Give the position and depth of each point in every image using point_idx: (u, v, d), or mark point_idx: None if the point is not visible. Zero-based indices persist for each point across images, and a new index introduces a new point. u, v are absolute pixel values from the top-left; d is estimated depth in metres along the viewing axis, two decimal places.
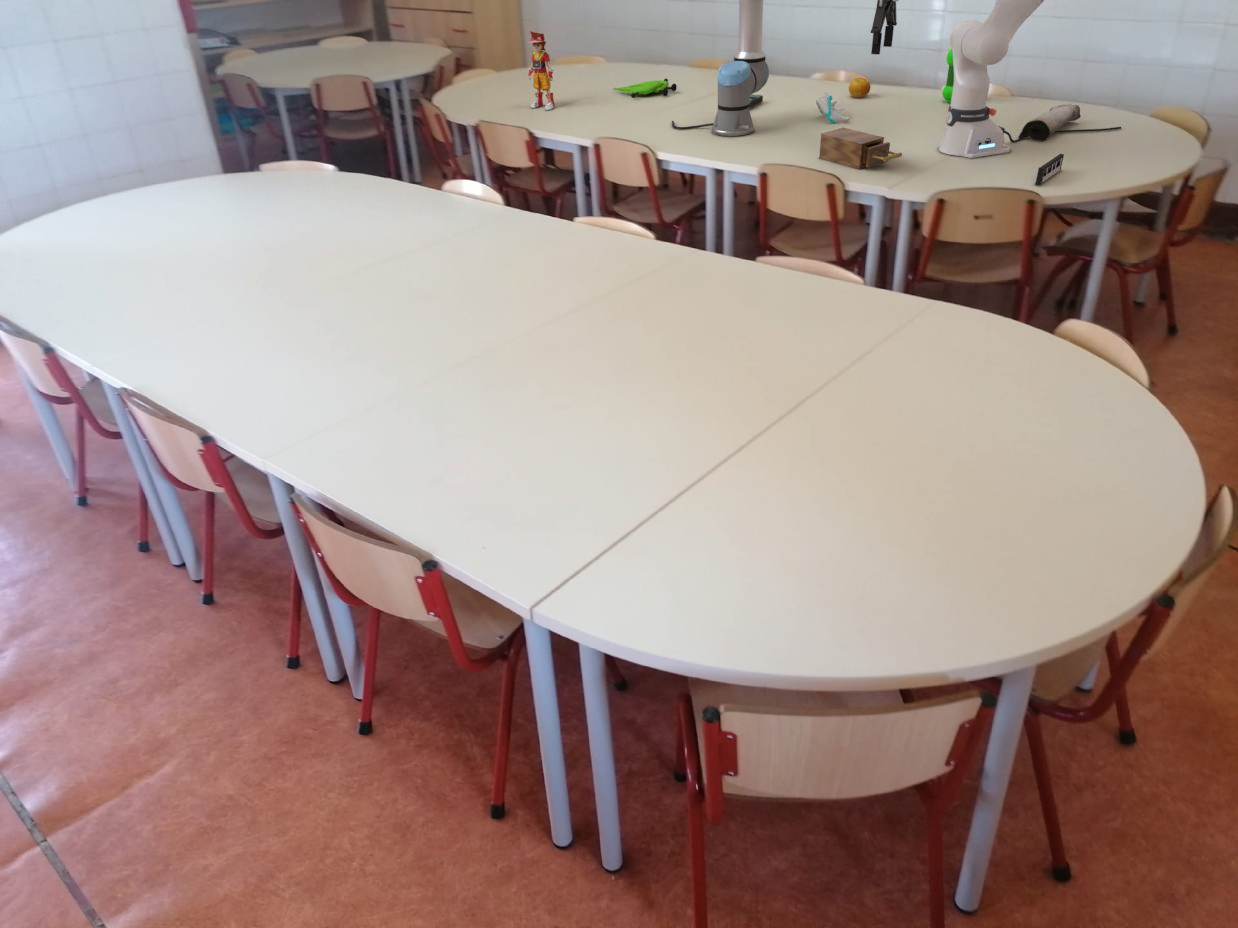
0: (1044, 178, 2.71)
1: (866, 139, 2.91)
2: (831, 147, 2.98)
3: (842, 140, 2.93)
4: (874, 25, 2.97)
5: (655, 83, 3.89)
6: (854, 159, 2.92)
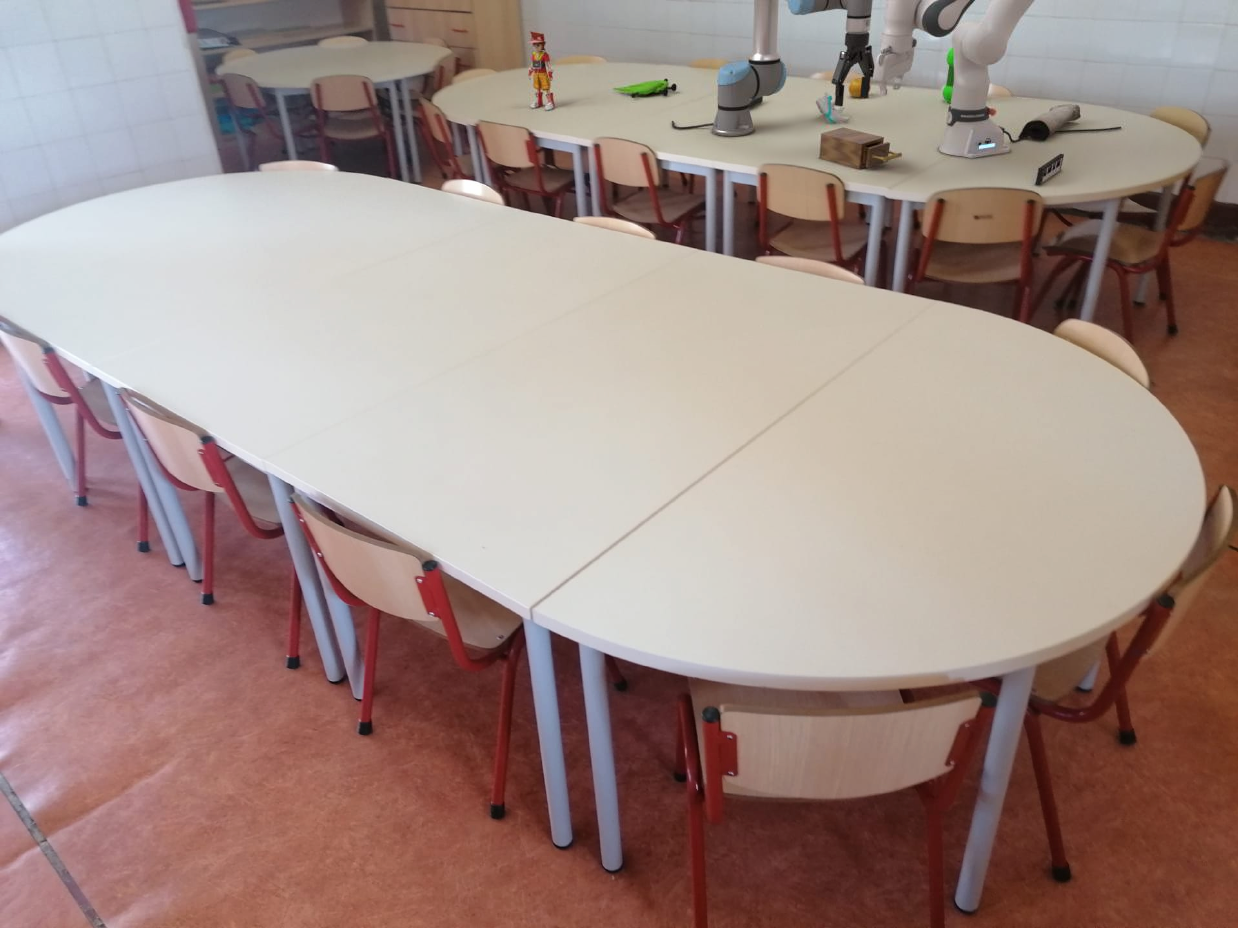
0: (1044, 178, 2.71)
1: (866, 139, 2.91)
2: (831, 147, 2.98)
3: (842, 140, 2.93)
4: (834, 77, 2.89)
5: (655, 83, 3.89)
6: (854, 159, 2.92)
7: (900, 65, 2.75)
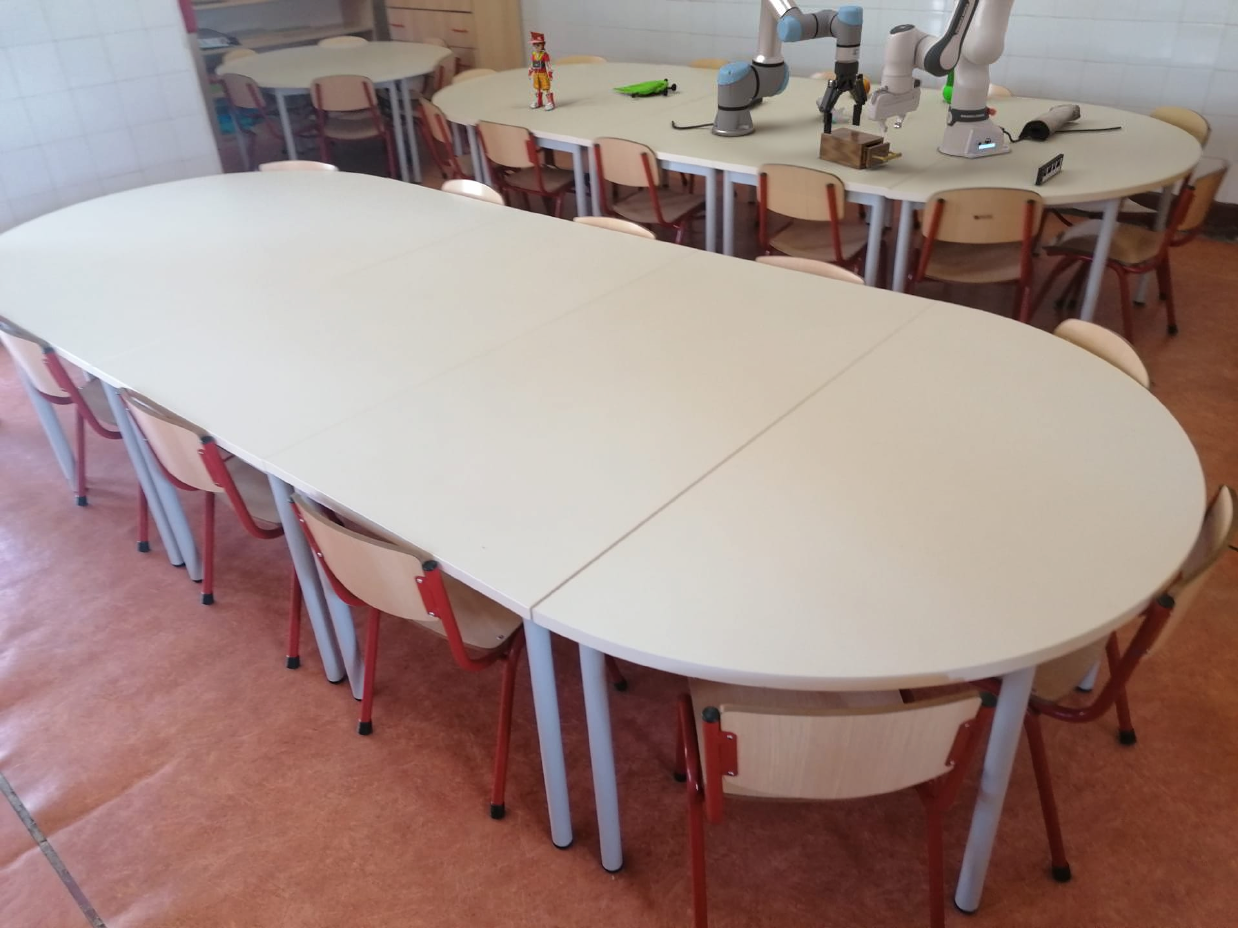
0: (1044, 178, 2.71)
1: (866, 139, 2.91)
2: (831, 147, 2.98)
3: (842, 140, 2.93)
4: (822, 104, 2.89)
5: (655, 83, 3.89)
6: (854, 159, 2.92)
7: (901, 104, 2.77)
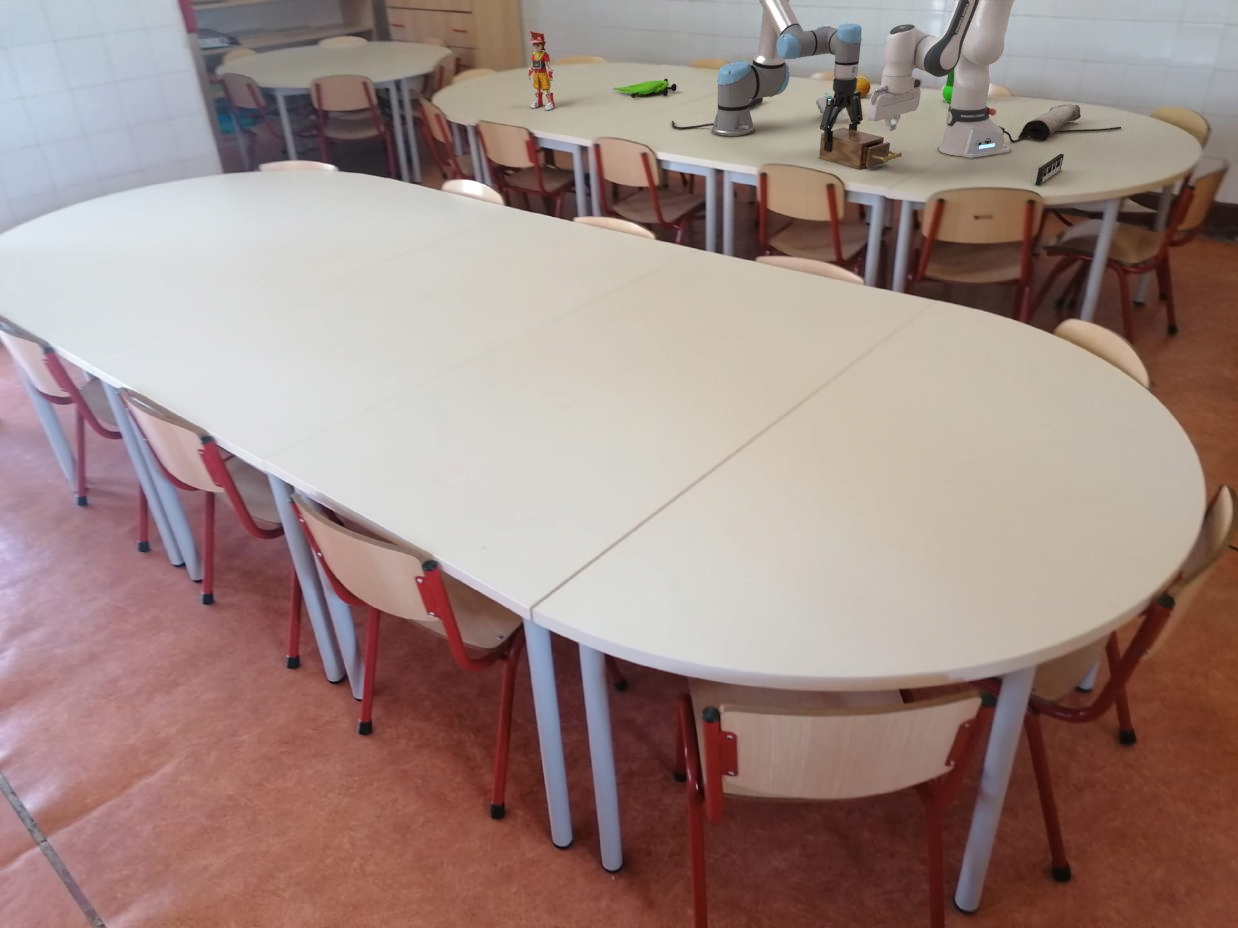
0: (1044, 178, 2.71)
1: (866, 139, 2.91)
2: None
3: (842, 140, 2.93)
4: (822, 123, 2.93)
5: (655, 83, 3.89)
6: (854, 159, 2.92)
7: (901, 104, 2.77)
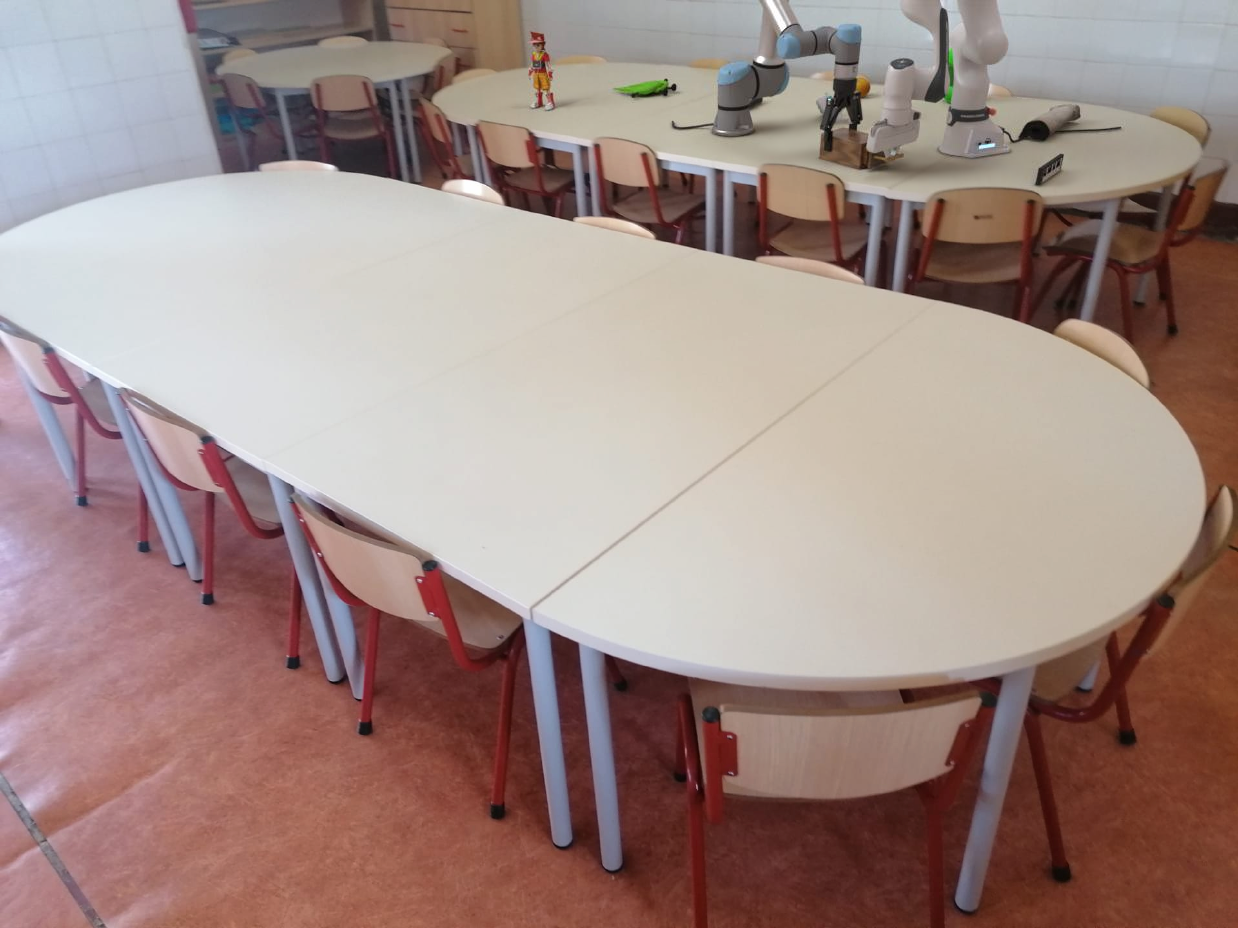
0: (1044, 178, 2.71)
1: (866, 139, 2.91)
2: None
3: (842, 140, 2.93)
4: (822, 123, 2.93)
5: (655, 83, 3.89)
6: (854, 159, 2.92)
7: (900, 136, 2.82)
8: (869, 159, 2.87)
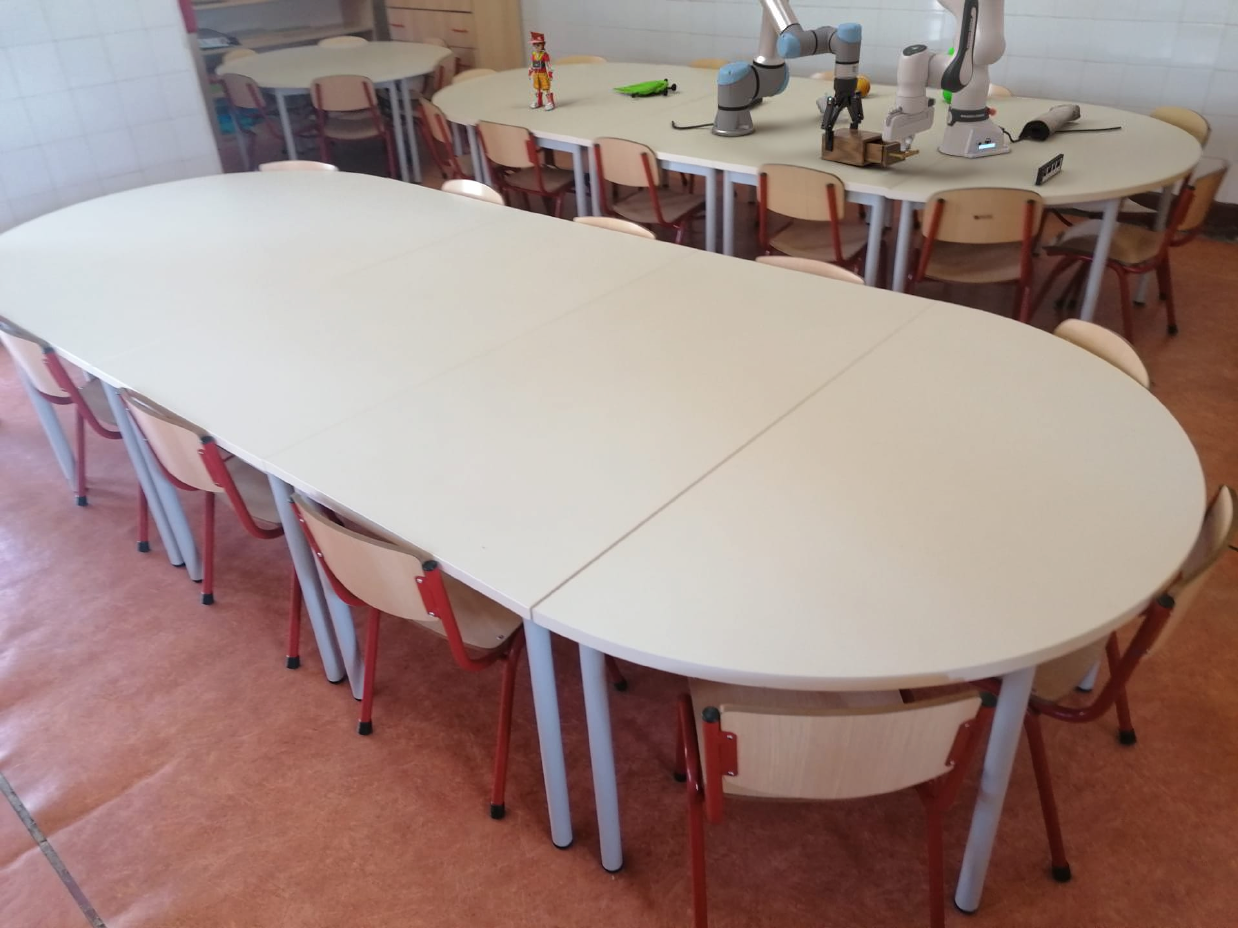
0: (1044, 178, 2.71)
1: (867, 136, 2.90)
2: (833, 146, 2.97)
3: (843, 138, 2.92)
4: (823, 123, 2.93)
5: (655, 83, 3.89)
6: (856, 156, 2.91)
7: (915, 123, 2.76)
8: (884, 157, 2.82)
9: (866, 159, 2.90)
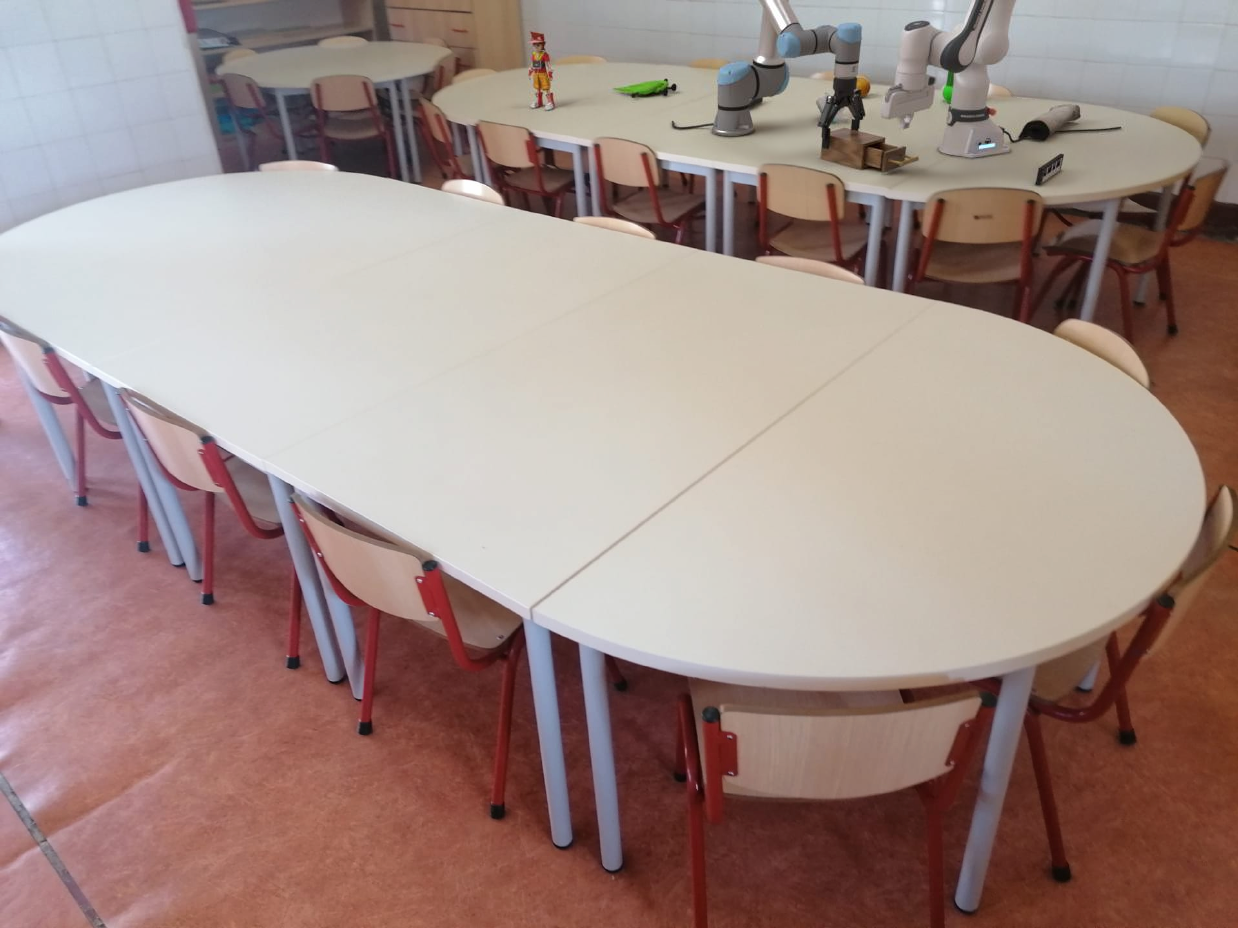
0: (1044, 178, 2.71)
1: (868, 139, 2.91)
2: (832, 147, 2.97)
3: (843, 140, 2.92)
4: (820, 120, 2.92)
5: (655, 83, 3.89)
6: (856, 159, 2.91)
7: (915, 102, 2.73)
8: (883, 163, 2.83)
9: (865, 163, 2.90)
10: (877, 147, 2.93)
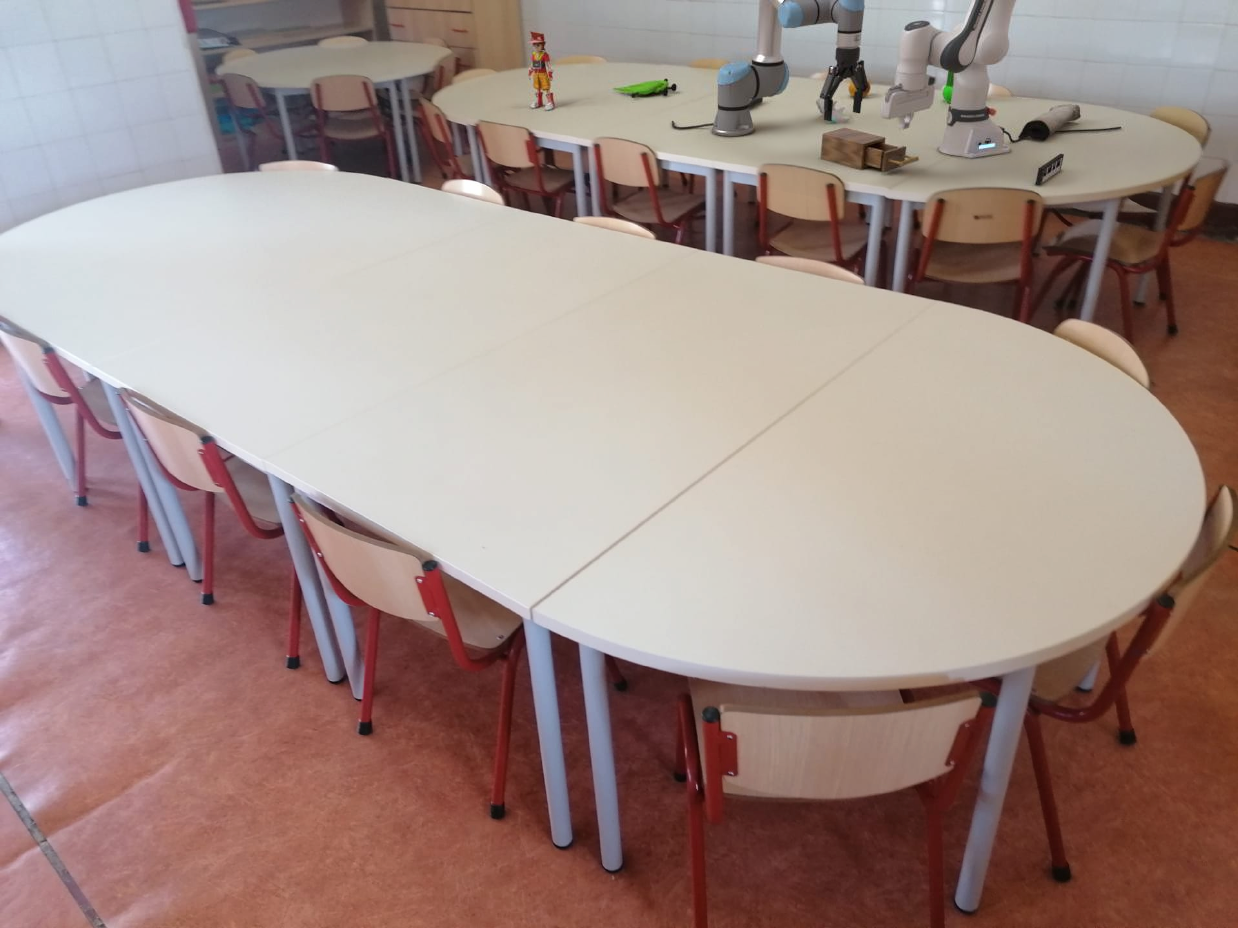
0: (1044, 178, 2.71)
1: (868, 139, 2.91)
2: (832, 147, 2.97)
3: (843, 140, 2.92)
4: (822, 91, 2.87)
5: (655, 83, 3.89)
6: (856, 159, 2.91)
7: (915, 102, 2.73)
8: (883, 163, 2.83)
9: (865, 163, 2.90)
10: (877, 147, 2.93)
